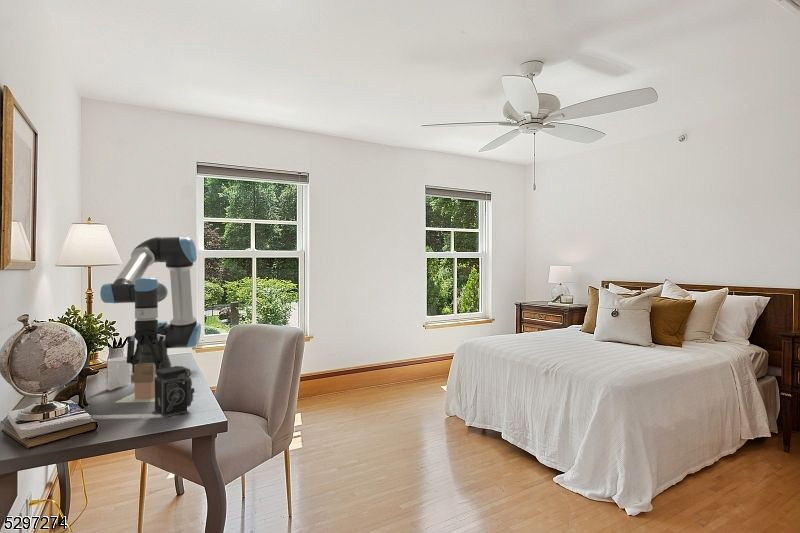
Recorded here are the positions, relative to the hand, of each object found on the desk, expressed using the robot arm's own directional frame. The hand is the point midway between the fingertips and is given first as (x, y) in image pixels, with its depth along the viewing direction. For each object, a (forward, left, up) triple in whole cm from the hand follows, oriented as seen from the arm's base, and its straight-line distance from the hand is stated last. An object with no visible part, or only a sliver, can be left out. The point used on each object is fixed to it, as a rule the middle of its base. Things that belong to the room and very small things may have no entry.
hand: (146, 381), depth 169 cm
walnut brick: (0, 0, 0) cm, 0 cm away
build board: (0, 0, -7) cm, 7 cm away
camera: (+16, +18, -7) cm, 25 cm away
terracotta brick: (0, 0, -6) cm, 6 cm away
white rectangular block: (-17, -21, -7) cm, 28 cm away
